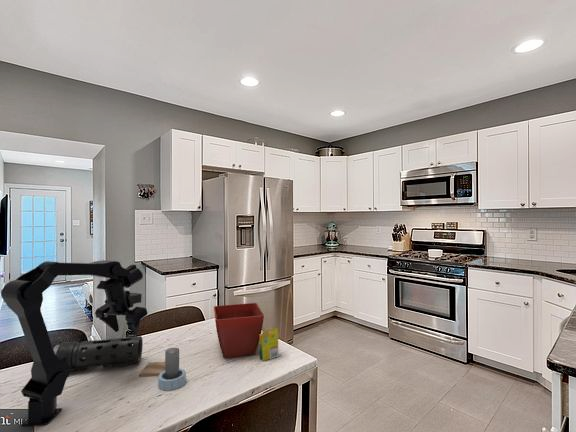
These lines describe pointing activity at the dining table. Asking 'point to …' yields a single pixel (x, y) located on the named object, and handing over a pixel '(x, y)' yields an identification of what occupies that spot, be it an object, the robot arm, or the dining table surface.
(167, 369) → the plug
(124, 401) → the dining table surface
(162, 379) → the collar
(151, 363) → the mat
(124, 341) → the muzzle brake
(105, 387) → the dining table surface
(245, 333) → the plant pot
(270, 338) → the crayon box
